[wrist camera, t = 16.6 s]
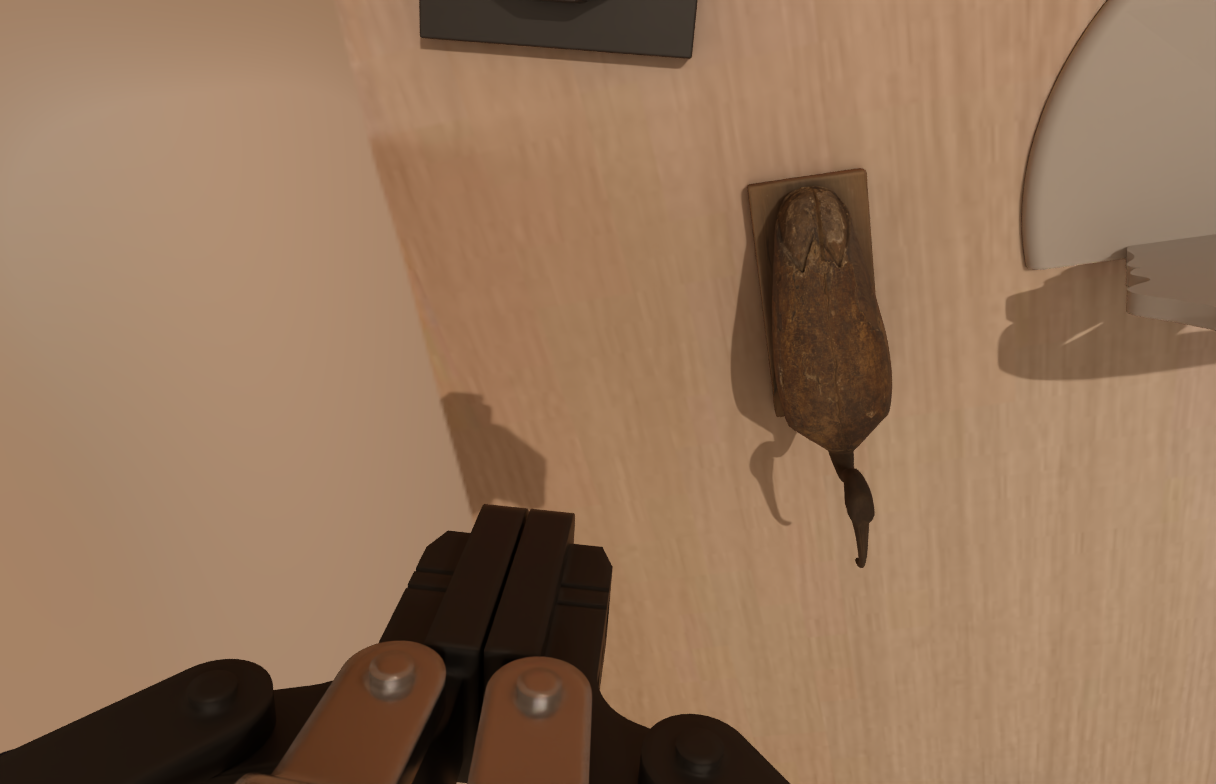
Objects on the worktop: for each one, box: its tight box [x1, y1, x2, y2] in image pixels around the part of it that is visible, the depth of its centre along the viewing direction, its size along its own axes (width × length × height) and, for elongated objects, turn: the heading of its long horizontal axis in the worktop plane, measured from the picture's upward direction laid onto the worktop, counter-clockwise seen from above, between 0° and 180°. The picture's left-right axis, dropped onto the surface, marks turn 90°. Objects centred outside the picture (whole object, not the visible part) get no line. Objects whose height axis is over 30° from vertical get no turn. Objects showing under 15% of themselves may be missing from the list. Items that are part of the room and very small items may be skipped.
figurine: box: [748, 168, 892, 568], centre depth 32 cm, size 14×4×9 cm, turn 11°
